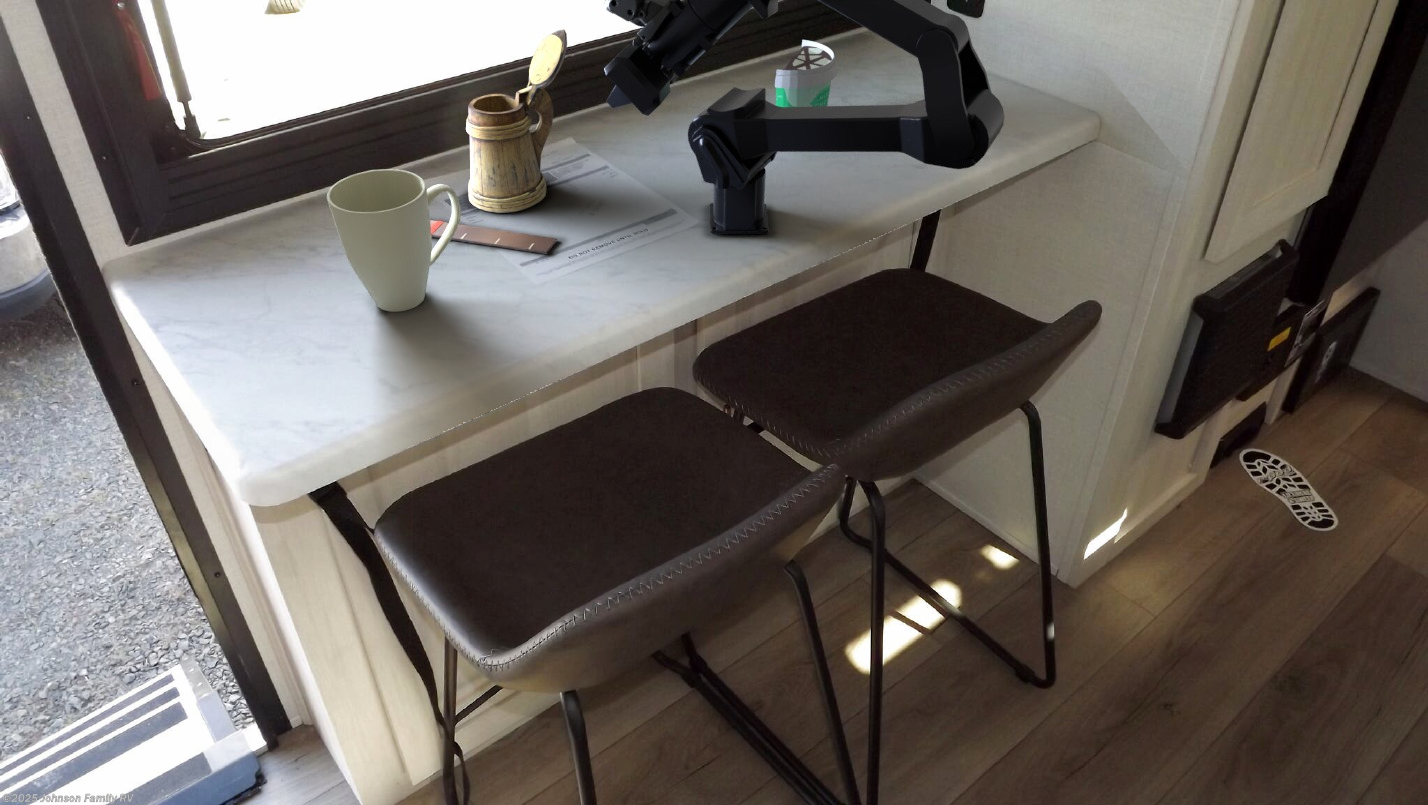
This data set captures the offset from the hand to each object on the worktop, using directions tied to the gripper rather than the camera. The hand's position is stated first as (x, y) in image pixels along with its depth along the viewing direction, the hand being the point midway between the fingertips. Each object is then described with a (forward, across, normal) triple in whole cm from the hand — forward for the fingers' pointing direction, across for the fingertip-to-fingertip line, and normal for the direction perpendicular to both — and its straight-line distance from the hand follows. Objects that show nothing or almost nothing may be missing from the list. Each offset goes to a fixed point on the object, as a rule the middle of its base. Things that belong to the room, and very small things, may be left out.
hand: (610, 103), depth 113 cm
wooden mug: (+17, 0, +1) cm, 17 cm away
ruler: (+18, +12, -1) cm, 21 cm away
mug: (+18, +24, -1) cm, 30 cm away
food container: (-4, -26, +21) cm, 33 cm away
